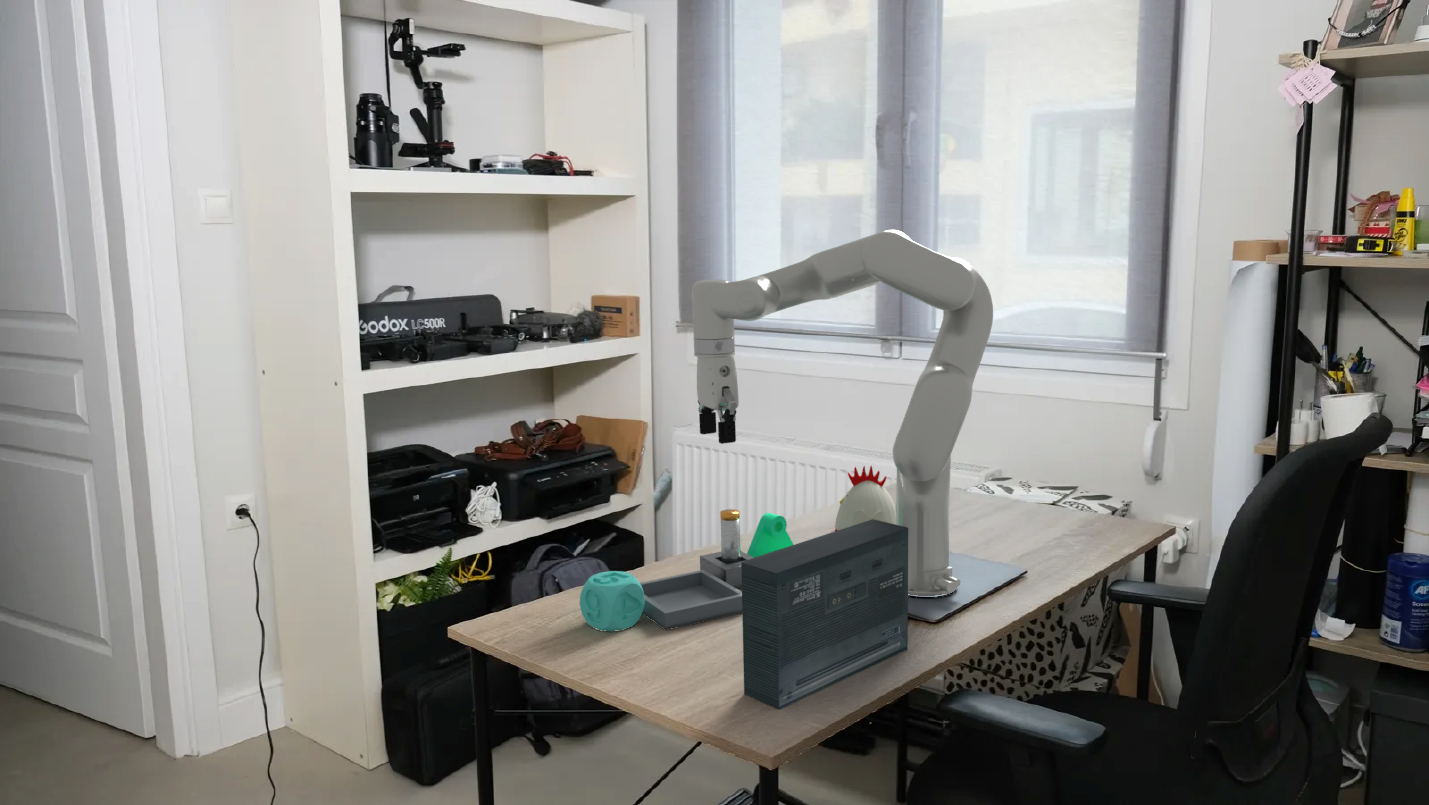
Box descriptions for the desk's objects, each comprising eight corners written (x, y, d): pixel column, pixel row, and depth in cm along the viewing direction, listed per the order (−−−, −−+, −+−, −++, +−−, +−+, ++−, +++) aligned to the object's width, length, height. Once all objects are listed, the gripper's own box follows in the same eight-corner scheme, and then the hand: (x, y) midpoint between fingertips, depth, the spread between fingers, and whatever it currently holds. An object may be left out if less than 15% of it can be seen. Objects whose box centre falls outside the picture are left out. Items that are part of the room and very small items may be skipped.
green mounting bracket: (773, 579, 203) (772, 526, 202) (745, 570, 209) (744, 519, 207) (816, 564, 211) (816, 514, 209) (788, 556, 217) (787, 506, 215)
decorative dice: (646, 621, 183) (644, 576, 182) (613, 636, 177) (610, 589, 176) (613, 611, 189) (611, 567, 187) (580, 625, 183) (577, 580, 181)
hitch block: (763, 582, 201) (763, 562, 200) (726, 590, 197) (725, 570, 196) (736, 568, 210) (735, 548, 209) (700, 575, 206) (699, 555, 205)
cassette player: (872, 638, 174) (872, 519, 170) (907, 650, 169) (908, 527, 165) (744, 695, 155) (741, 562, 151) (778, 710, 150) (776, 573, 146)
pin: (744, 580, 203) (743, 512, 200) (728, 583, 201) (726, 515, 199) (734, 574, 206) (733, 508, 203) (718, 578, 204) (716, 511, 202)
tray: (747, 611, 187) (747, 594, 186) (665, 630, 179) (665, 613, 178) (703, 585, 200) (703, 569, 200) (625, 601, 193) (625, 586, 192)
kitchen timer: (834, 524, 237) (834, 458, 235) (897, 524, 236) (898, 458, 233) (835, 544, 224) (835, 473, 221) (902, 544, 222) (903, 473, 220)
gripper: (751, 350, 191) (754, 444, 194) (716, 341, 207) (719, 428, 210) (712, 353, 189) (715, 448, 192) (679, 344, 205) (683, 432, 208)
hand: (717, 438), depth 201 cm, fingers open, 9 cm apart
